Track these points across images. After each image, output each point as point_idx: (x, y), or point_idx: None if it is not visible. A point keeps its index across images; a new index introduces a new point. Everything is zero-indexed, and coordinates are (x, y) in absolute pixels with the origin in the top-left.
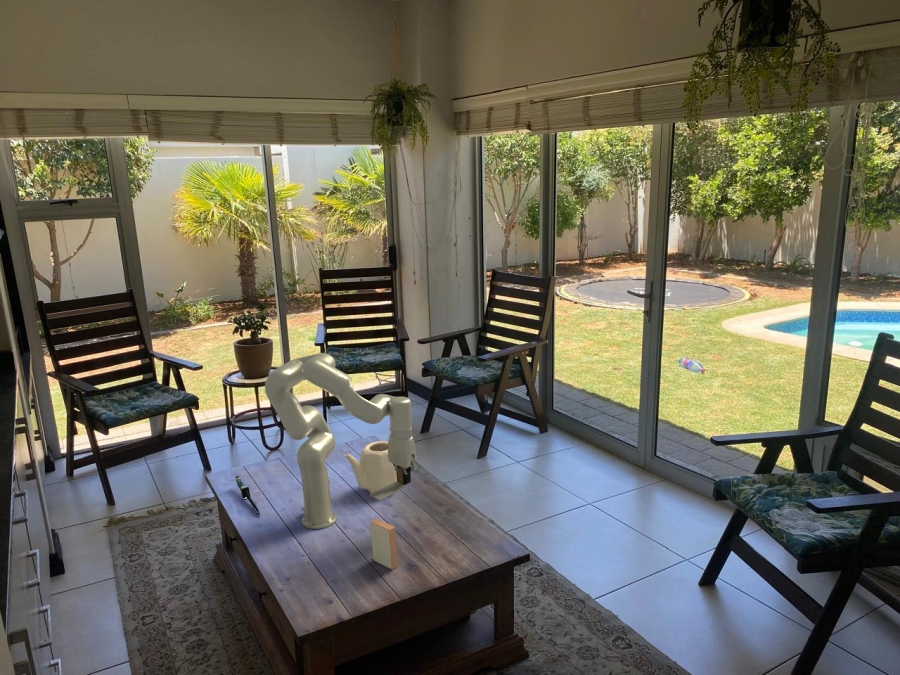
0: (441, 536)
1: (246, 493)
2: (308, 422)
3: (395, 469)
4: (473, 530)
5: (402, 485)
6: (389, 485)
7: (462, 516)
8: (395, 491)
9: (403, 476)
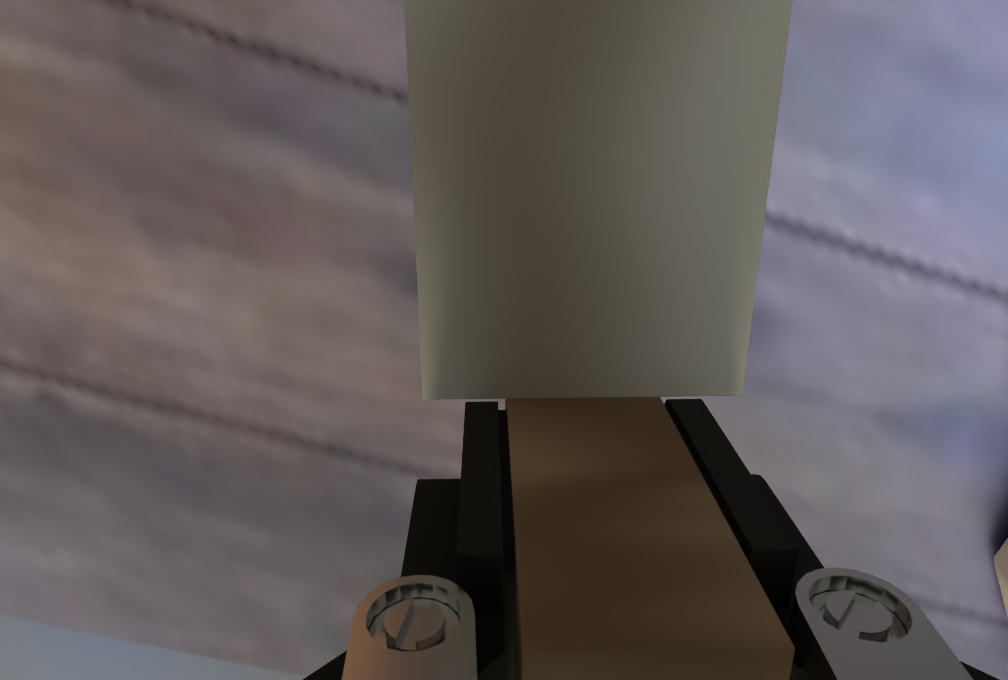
0: (192, 329)
1: None
2: None
3: (893, 610)
4: (88, 532)
5: (468, 352)
6: (719, 162)
7: (309, 616)
8: (409, 65)
9: (472, 513)
